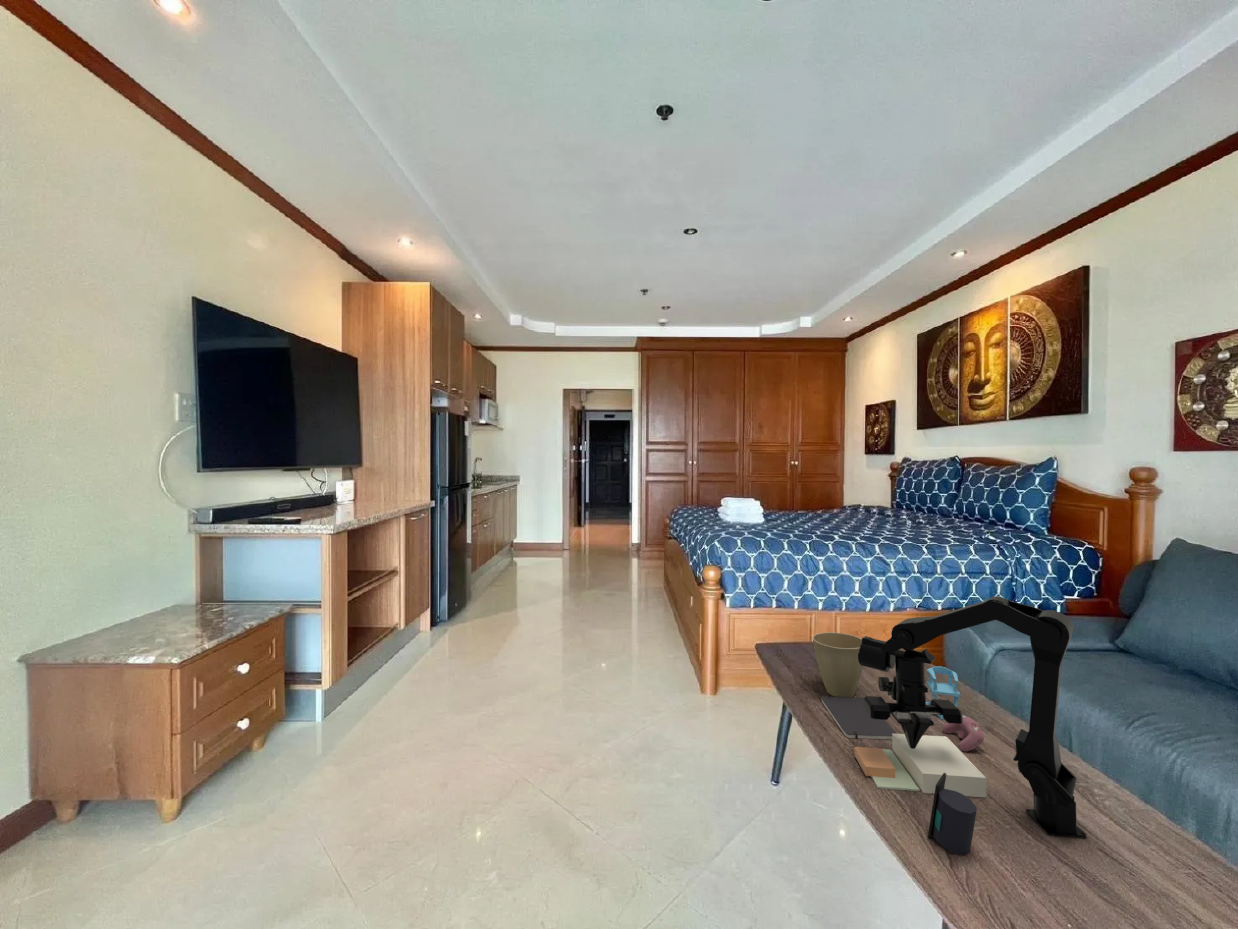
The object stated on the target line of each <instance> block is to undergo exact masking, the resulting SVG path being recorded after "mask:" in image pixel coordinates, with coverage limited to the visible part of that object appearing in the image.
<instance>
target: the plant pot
mask: <svg viewBox="0 0 1238 929" xmlns="http://www.w3.org/2000/svg"><path fill="white" fill-rule="evenodd" d="M812 642H813V647H814V653H815V658H816V663H817V666H818V670H819V673H820V677H821V680H822V682H823V684H824V687H825V689H826V692H827V693H828V695H830V696H831V697H854V695H855V692H856V691H857V689H858V688H857V687H858V685H859V683H860V682H859V681H860V679H861V676H862V671H863V667H864V666H862V665H860V664H859V661H858V653H859V649H860V646H861V643H862V638H861V637H858V636H855V635H853V634H849V633H843V632H842V633H841V632H820V633H819V632H818V633H816V634H814V635H813V636H812Z"/></svg>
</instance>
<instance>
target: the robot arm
mask: <svg viewBox="0 0 1238 929" xmlns="http://www.w3.org/2000/svg"><path fill="white" fill-rule="evenodd" d="M993 621H998V622H1000V623H1002V624H1005V625H1006V626H1008V627H1010V628H1011V629H1012V630H1013V629H1014V630H1015V631H1017V632H1019V633H1021V634H1023V635H1026V636H1028V637H1029V640H1030V647H1031V650H1032V653H1033V654H1032V655H1033V657H1034V658H1033V659H1034V668H1033V677H1032V678H1033V679H1032V690H1031V700H1030V701H1031V702H1030V703H1031V704H1030V716H1029V726H1028V731H1027V730H1025V729H1022V728H1020V730H1019V732H1018V734H1017V736H1016V738H1015V751H1016V753H1015V755H1014V757H1013V758H1012V759H1013V762H1017V769H1018V771H1019V773H1020V774H1021V775H1022V777H1024V779H1026V780H1027V781H1028V784H1029V785H1030V788H1031V790H1032V792H1033V794H1032V795H1033V809H1031V808H1026V809H1025V813H1026V814H1027V815H1028V816H1029V817H1030V818H1031V819H1032V820H1033V821H1034V823H1036V824H1037V825H1038V827H1039V828H1040V829H1041V830H1042V831H1043V832H1044V833H1045V834H1047V835H1049V836H1057V837H1067V838H1068V837H1070V838H1082V839H1083V838H1084V839H1086V838H1087V833H1085V831H1083V830H1082V829H1081V828H1080V827H1079V826H1078V825H1077V824H1078V823H1077V802H1076V800H1075V795H1074V792H1075V788H1076V783H1077V779H1078V778H1077V777H1076V776H1075V775H1074V774H1073V773H1072V771H1070V770H1069V769H1068V767H1066V766H1065V764H1063V762H1062V759H1061V758H1062V756H1061V750H1060V745H1059V740H1058V737H1057V722H1058V721H1057V720H1058V712H1059V711H1058V710H1059V709H1058V707H1059V697H1060V686H1061V675H1062V663H1063V660H1064V657H1065V655H1066V652H1067V649H1068V646H1069V643H1070V641H1071V638H1072V635H1073V632H1074V624H1073V623H1072V620H1071V619H1070V618H1069V617H1068V616H1067V615H1065V614H1064V613H1062V612H1059V611H1057V610H1053V609H1047V610H1042V609H1041V608H1037V607H1035V606H1031V605H1027V604H1024V603H1021V602H1017V601H1014V600H1010V599H1008V598H1006V597H1002V596H998V595H997V596H996V595H995V596H992V597H990V598H989V599H987V600H984V601H980V602H977V603H973V604H970V605H966V606H963V607H960V608H958V609H954V610H949V611H947V612H944V613H941V614H938V615H933V616H920V617H919V616H918V617H912V618H910V617H909V618H905V619H904V620H902V621H901V622H899V623H897V624H896V625H894V626H893V627H892V629H891V632H890V633H891V637H890V638H889V639H887V640H886V641H885V640H880V639H876V638H873V637H871V636H867V635H866V636H864V637H862V638H861V639H862V643H861V646H860V649H859V653H858V661H859V664H860V665H862V666H863V667H866V668H870V669H874V670H878V671H880V672H885V673H887V672H889V671H890V669H891V670H893V669H894V668H895V676H893V681H892V680H890V678H889V677H887V676H878V680H877V683H878V689H879V691H881V692H887V695H888V696H890V697H891V699H892V700H893V701H895V702H886V701H885V699H884V698H883V697H882V696H872V695H865V696H864V697H863V698H864V699H863V708H864V709H865V710H866V712H867V713H868V715H869V716H870V717H871V718H873V719H880V720H885V721H888V719H889V718H891V717H893V718H894V719H895V721H896V722H897V723H898V724H899V725H900V726H901V727H902V728H901V729H902V731H903V734H905V737H906V739H907V742H908V745H909V747H910V748H911V749H915V748H916V746H917V744H918V742H919V741H920V739H921V737H922V736H923V735H924V734H925V733H926V732H927V730H928V729H929V728H930V727H934V725H935V722H933V720H932V715H933V716H937V715H943V718H944V720H945V722H946V723H947V722H948V723H956V724H962V723H963V720H962V716H963V713H962V711H961V710H960V709H959V708H958V706H957V707H956V706H955V705H954V704H953V703H952V702H951V701H950V700H949V699H938V698H937V699H933V698H932V700H931V701H930V702H931V705H926V702H927V701H926V699H927V698H926V696H927V695H926V693H928V692H929V687H928V686H926V670H925V667H926V666H925V665H926V664H927V665H931V664H932V663H934V661H935V660H936V656H934V655H933V654H932V653H930V651H929V650H928V649H927V648H925V649H923V650H922V651H920V650H916V649H917V648H919V647H921V646H924V645H925V644H927V643H929V642H931V641H933V640H934V639H936V638H938V637H940V636H943V635H947V634H950V633H954V632H958V631H960V630H964V629H965V630H966V629H969V628H971V627H975V626H979V625H981V624H985V623H990V622H993ZM901 649H902V650H901Z"/></svg>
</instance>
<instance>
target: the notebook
mask: <svg viewBox="0 0 1238 929" xmlns="http://www.w3.org/2000/svg"><path fill="white" fill-rule="evenodd" d="M820 698H821V703H822V704H823V705H824V706H823V707H825V709H826V710H827V711H828V713H829V714H830V715H831V717H832V719H833V720H834V722H835V723H836V725H837V726H838V727H839V729H840V730H841V732H842V733H843V735H844V736H845V738H848V739H864V740H865V739H868V740H871V739H872V740H892V734H898V733H897V732H896V730H895V729H893V727H892V726H891V725H890V724H889V723H888V721H887V720H880V719H873V718H871V717H870V716H869V715H868V713H867V712H866V710H865V709H864V708H863V699H864V698H865V697H857V696H853V697H835V696H831V695H830V696H824V695H823V696H821V697H820Z"/></svg>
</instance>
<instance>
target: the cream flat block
mask: <svg viewBox="0 0 1238 929" xmlns="http://www.w3.org/2000/svg"><path fill="white" fill-rule="evenodd" d="M891 741H892V742H891V743H892V752H893V753H894V754H895V756H896V757H897V759H898V760H899V761H900V763H901V764H902V766H903V767H904V768H905V770H906V771H907V772H908V774H909V775H910V777H911V778H912V779H913V781H914V782H915V784H916V785H917V786H918V788H919V789H920V791H921V792H922V793H923V794H932V793H933V794H935V787H936V784H937V782H938V781H939V779H940V778H941V776H942V775H943V773H946V780H945V786H944V789H948V790H952V791H956V792H959V793H961V794H963V795H964V796H966V797H975V798H987V796H988V795H987V777H986V776H985V775H984V774H983V773H982V772H981V771H980V770H979V769H978V768H977V767H976V766H975V765H974V763H972V761H970V759H969V758H967V756H966V755H965V754H964V753H963V751H961V750H960V749H959V747H958V746H956V745H955V744H954V743H953V742H952V740H950V739H949V737H947V736H944V735H943V736H942V735H924V734H923V736H922V737H921V739H920V741H919V742H918V744H917V746H916V748H915V749H911V748H910V747H909V745H908V742H907V739H906V737H905V734H904V733H897V734H892V739H891ZM933 794H932V795H933Z"/></svg>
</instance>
